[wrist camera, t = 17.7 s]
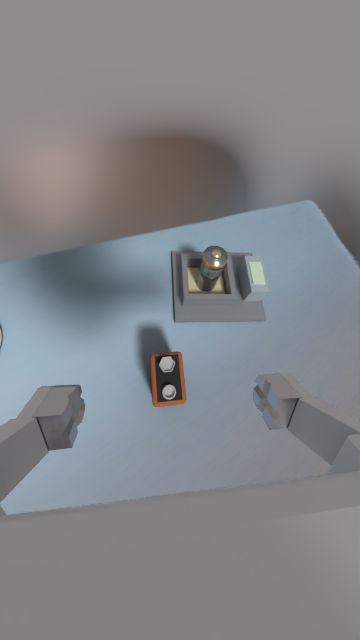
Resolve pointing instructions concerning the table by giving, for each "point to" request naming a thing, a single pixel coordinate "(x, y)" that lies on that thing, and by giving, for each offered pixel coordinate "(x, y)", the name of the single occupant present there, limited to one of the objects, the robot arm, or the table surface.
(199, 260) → the tester
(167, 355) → the battery
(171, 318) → the table surface
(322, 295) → the table surface
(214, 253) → the cell
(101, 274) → the table surface
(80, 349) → the table surface
